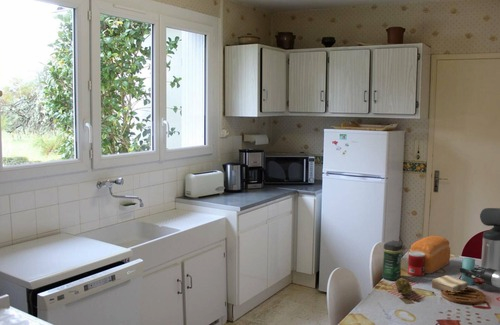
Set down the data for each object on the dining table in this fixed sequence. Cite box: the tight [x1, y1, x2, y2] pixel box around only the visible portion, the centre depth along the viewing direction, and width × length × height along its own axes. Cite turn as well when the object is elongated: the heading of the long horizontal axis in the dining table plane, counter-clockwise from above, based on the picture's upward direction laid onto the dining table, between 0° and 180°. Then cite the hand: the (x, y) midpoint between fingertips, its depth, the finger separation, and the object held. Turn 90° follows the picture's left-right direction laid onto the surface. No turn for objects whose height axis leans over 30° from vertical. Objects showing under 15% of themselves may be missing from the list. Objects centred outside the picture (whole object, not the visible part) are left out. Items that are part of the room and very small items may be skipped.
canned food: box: [407, 251, 425, 277], centre depth 250 cm, size 8×8×11 cm
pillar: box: [460, 257, 476, 286], centre depth 237 cm, size 6×6×12 cm
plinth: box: [431, 275, 468, 292], centre depth 230 cm, size 11×11×4 cm
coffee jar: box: [381, 239, 403, 281], centre depth 243 cm, size 10×8×19 cm
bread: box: [409, 235, 451, 274], centre depth 263 cm, size 14×26×16 cm, turn 137°
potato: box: [394, 277, 413, 296], centre depth 222 cm, size 8×13×8 cm, turn 140°
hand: (463, 268), depth 239 cm, fingers closed on pillar, 5 cm apart
